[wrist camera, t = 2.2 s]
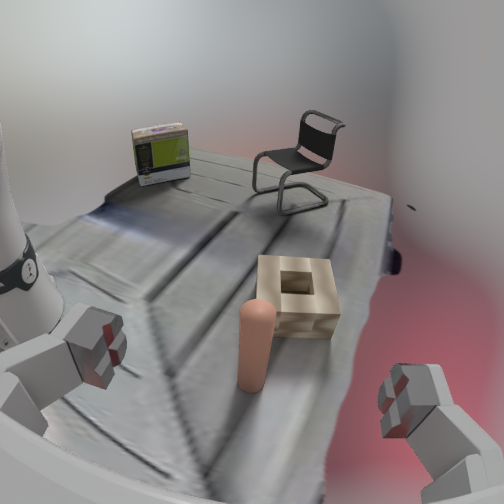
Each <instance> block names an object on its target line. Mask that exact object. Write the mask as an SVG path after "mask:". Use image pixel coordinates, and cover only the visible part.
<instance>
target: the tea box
mask: <svg viewBox="0 0 504 504" xmlns="http://www.w3.org/2000/svg"><path fill="white" fill-rule="evenodd" d="M131 132H132V141H133V149H134V157H135V164H136V170H137V175H138V179H139V183H140V186H145V185H150V184H155V183H160V182H165V181H170V180H175V179H181V178H186V177H190V160H189V143H188V130H187V129H186V128H185V127H184V126H183V125H182V124H181V123H180V122H175V123H170V124H163V125H156V126H151V127H145V128H140V129H134V130H132V131H131Z"/></svg>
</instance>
